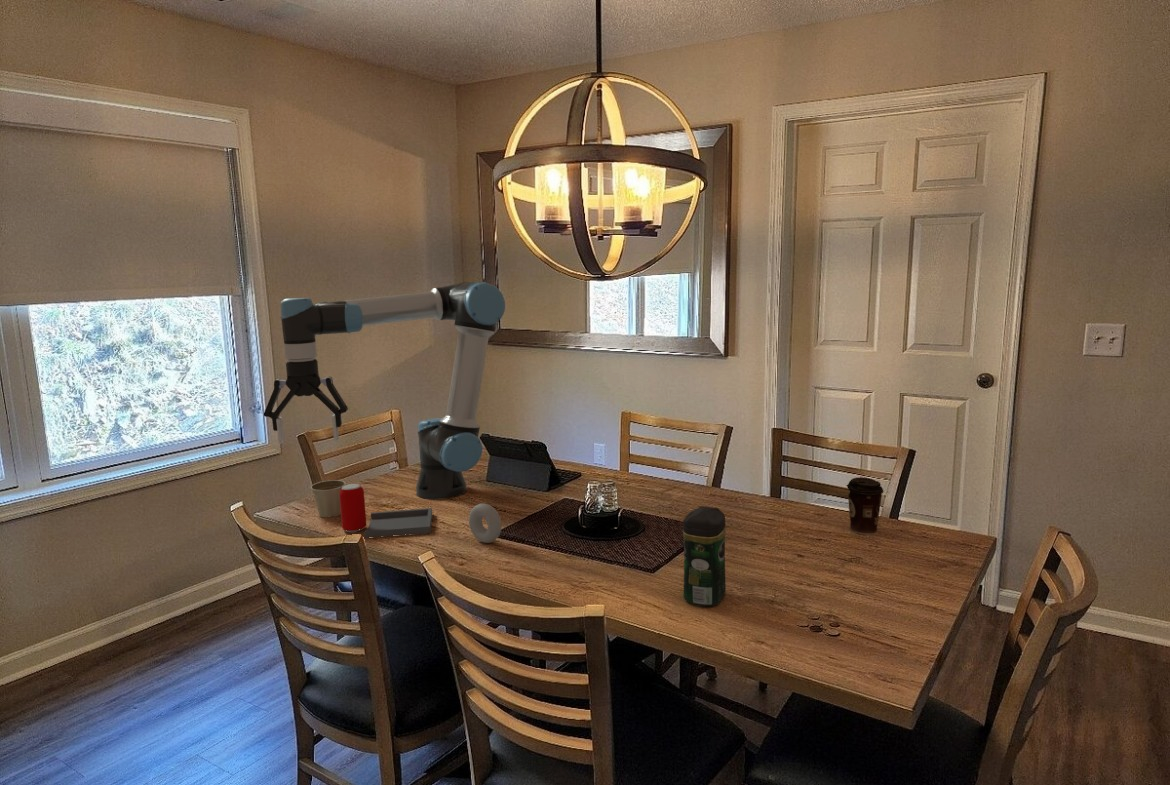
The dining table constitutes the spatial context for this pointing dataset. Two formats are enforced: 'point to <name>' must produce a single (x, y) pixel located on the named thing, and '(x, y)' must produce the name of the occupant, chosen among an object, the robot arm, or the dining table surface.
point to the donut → (492, 520)
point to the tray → (399, 522)
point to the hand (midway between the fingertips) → (309, 441)
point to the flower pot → (328, 497)
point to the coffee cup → (864, 505)
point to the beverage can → (352, 508)
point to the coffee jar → (704, 556)
